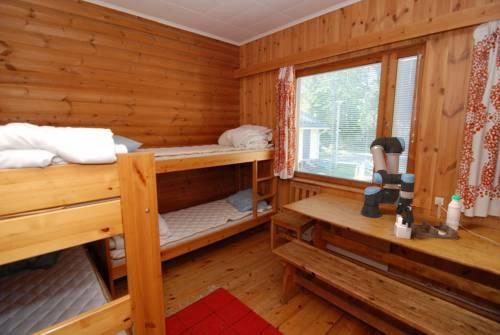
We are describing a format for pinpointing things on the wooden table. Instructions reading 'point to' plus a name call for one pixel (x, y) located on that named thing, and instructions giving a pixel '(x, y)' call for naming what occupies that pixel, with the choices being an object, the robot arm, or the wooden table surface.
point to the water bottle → (454, 212)
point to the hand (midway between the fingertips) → (402, 227)
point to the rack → (433, 231)
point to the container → (401, 228)
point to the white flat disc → (441, 232)
